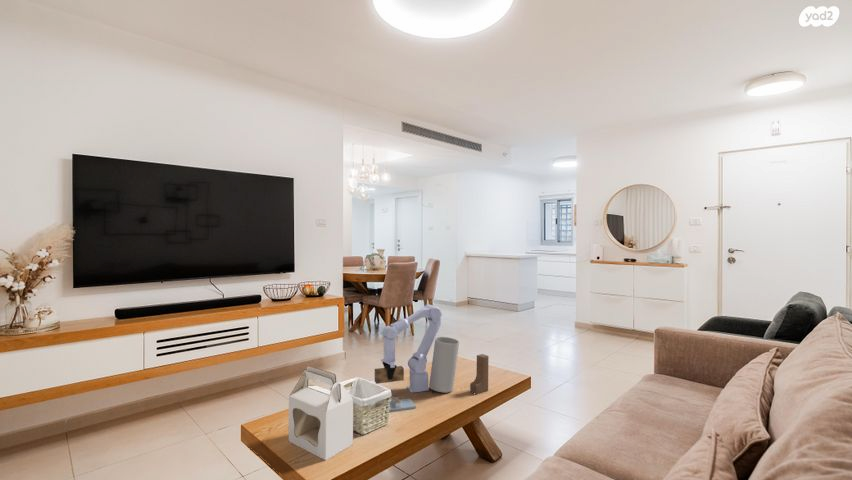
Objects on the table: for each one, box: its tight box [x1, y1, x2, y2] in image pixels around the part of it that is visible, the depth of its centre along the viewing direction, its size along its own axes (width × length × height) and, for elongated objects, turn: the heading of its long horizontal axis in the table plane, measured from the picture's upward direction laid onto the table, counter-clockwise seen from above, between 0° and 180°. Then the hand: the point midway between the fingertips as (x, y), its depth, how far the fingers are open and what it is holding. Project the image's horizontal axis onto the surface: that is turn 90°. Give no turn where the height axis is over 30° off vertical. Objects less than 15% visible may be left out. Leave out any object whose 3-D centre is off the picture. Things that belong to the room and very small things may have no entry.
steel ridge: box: [391, 396, 401, 408], centre depth 180 cm, size 2×7×2 cm, turn 19°
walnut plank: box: [374, 365, 405, 385], centre depth 195 cm, size 14×4×6 cm, turn 110°
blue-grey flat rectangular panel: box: [389, 398, 417, 413], centre depth 180 cm, size 16×9×1 cm, turn 109°
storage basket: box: [329, 376, 392, 435], centre depth 166 cm, size 24×16×15 cm
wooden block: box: [469, 353, 489, 395], centre depth 199 cm, size 9×4×18 cm, turn 128°
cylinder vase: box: [428, 336, 460, 393], centre depth 201 cm, size 12×12×25 cm
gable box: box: [288, 365, 354, 461], centre depth 148 cm, size 22×13×28 cm, turn 54°
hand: (389, 377), depth 195 cm, fingers closed on walnut plank, 4 cm apart
